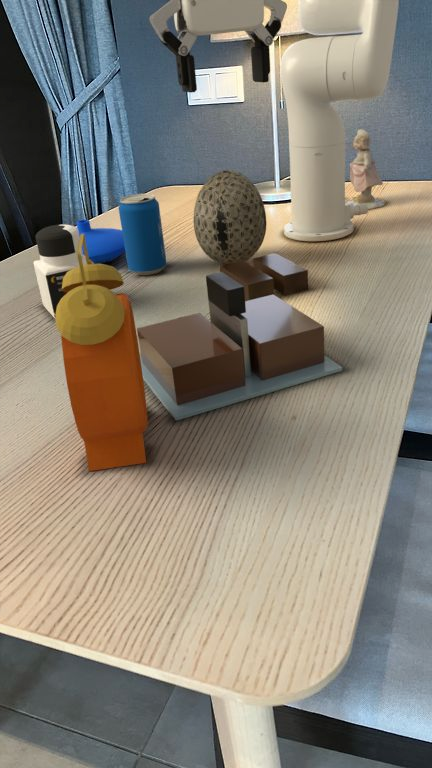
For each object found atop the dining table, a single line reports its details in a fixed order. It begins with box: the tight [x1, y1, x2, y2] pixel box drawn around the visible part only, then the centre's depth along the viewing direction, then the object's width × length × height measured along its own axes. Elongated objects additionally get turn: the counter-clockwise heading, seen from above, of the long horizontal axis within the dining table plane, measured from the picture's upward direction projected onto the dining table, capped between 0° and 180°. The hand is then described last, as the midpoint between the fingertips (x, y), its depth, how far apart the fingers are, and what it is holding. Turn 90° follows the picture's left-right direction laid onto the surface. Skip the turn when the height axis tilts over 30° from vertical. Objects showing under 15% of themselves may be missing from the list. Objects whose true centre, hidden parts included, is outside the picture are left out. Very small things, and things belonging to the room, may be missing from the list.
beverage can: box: [118, 193, 168, 276], centre depth 109 cm, size 6×6×12 cm
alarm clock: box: [54, 234, 148, 472], centre depth 62 cm, size 13×6×20 cm, turn 7°
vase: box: [76, 219, 126, 264], centre depth 118 cm, size 16×16×7 cm
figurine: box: [345, 128, 386, 210], centre depth 135 cm, size 11×10×15 cm
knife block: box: [219, 252, 309, 301], centre depth 100 cm, size 10×10×3 cm
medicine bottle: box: [33, 224, 94, 319], centre depth 97 cm, size 7×7×12 cm
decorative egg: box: [193, 169, 267, 265], centre depth 108 cm, size 12×12×15 cm
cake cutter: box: [205, 271, 251, 378], centre depth 76 cm, size 2×9×10 cm, turn 24°
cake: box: [136, 294, 343, 422], centre depth 77 cm, size 20×16×5 cm
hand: (225, 86), depth 83 cm, fingers open, 9 cm apart
